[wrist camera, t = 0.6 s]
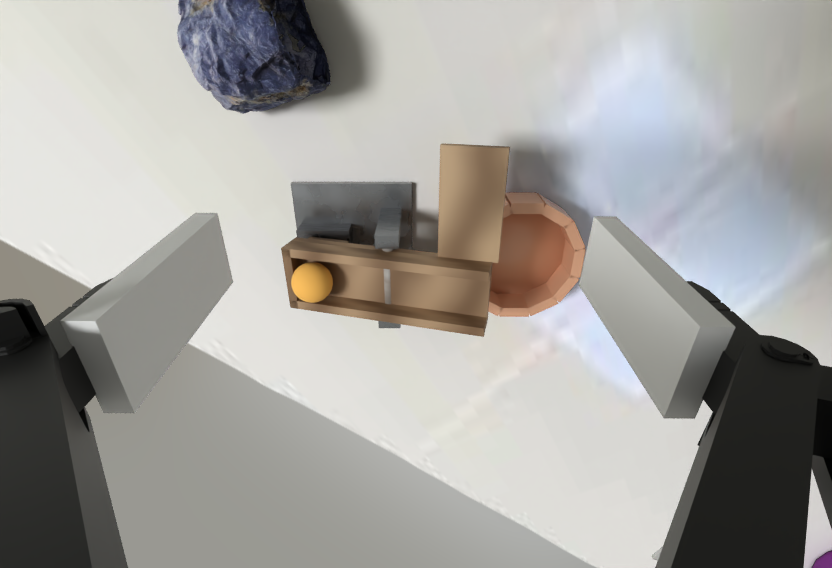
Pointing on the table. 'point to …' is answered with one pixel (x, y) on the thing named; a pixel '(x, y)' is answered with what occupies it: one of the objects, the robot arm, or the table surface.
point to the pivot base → (356, 214)
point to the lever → (422, 255)
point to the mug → (824, 561)
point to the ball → (312, 282)
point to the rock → (252, 51)
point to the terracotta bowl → (534, 256)
